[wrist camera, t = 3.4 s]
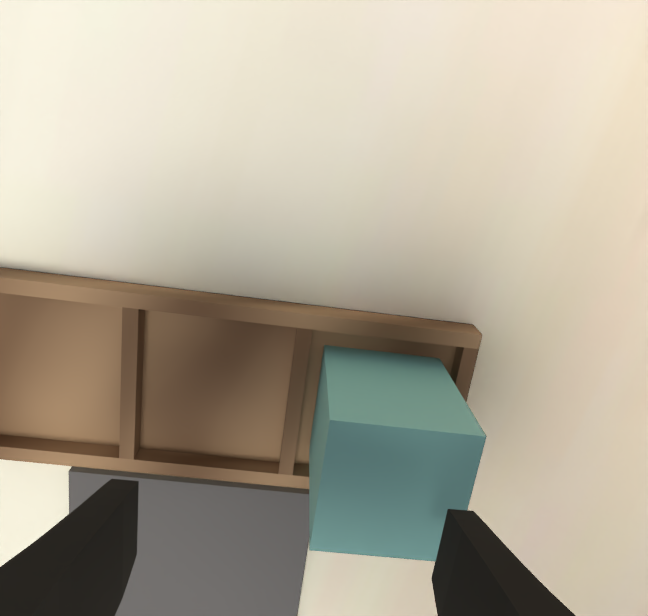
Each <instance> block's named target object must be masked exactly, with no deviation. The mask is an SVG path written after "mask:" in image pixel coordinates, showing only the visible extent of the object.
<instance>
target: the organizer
mask: <svg viewBox="0 0 648 616" xmlns="http://www.w3.org/2000/svg"><path fill="white" fill-rule="evenodd" d="M481 338H482V334H481V333H480V332H479V331H478V330H477V329H476V327H475V326H474V325H471V324H463V323H455V322H446V321H438V320H430V319H422V318H413V317H405V316H397V315H389V314H380V313H372V312H364V311H356V310H347V309H339V308H331V307H323V306H314V305H306V304H298V303H289V302H281V301H273V300H265V299H256V298H248V297H240V296H232V295H223V294H215V293H207V292H199V291H190V290H182V289H174V288H166V287H157V286H149V285H141V284H132V283H124V282H116V281H108V280H99V279H91V278H83V277H75V276H66V275H58V274H50V273H42V272H33V271H25V270H17V269H9V268H0V459H4V460H15V461H25V462H35V463H46V464H56V465H66V466H76V467H87V468H97V469H107V470H118V471H128V472H138V473H149V474H159V475H169V476H180V477H190V478H200V479H210V480H221V481H231V482H241V483H252V484H262V485H272V486H283V487H293V488H303V489H309V445H310V438H311V431H312V425H313V418H314V411H315V404H316V397H317V390H318V383H319V377H320V370H321V363H322V356H323V349H324V345H329V346H338V347H347V348H355V349H364V350H373V351H381V352H390V353H398V354H407V355H416V356H424V357H433V358H440V360H441V362H442V363H443V365H444V367H445V368H446V370H447V372H448V373H449V375H450V377H451V378H452V380H453V382H454V383H455V385H456V387H457V388H458V390H459V392H460V393H461V395H462V397H463V398H464V400H465V402H466V400H467V396H468V392H469V388H470V384H471V380H472V376H473V371H474V367H475V363H476V359H477V355H478V351H479V347H480V342H481Z"/></svg>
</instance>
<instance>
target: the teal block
mask: <svg viewBox="0 0 648 616" xmlns="http://www.w3.org/2000/svg"><path fill="white" fill-rule="evenodd" d="M485 440H486V435H485V433H484V432H483V430H482V428H481V427H480V425H479V423H478V422H477V420H476V418H475V417H474V415H473V413H472V412H471V410H470V408H469V407H468V405H467V403H466V402H465V400H464V398H463V397H462V395H461V393H460V392H459V390H458V388H457V387H456V385H455V383H454V382H453V380H452V378H451V377H450V375H449V373H448V372H447V370H446V368H445V367H444V365H443V363H442V362H441V360H440V358H433V357H424V356H416V355H407V354H398V353H390V352H381V351H373V350H364V349H355V348H347V347H338V346H329V345H324V349H323V356H322V363H321V370H320V377H319V383H318V390H317V397H316V404H315V411H314V418H313V425H312V431H311V438H310V445H309V546H310V550H314V551H325V552H337V553H348V554H359V555H370V556H381V557H393V558H404V559H415V560H426V561H436V558H437V553H438V549H439V545H440V540H441V536H442V532H443V528H444V523H445V519H446V515H447V510H448V509H456V510H467V509H468V505H469V501H470V497H471V493H472V490H473V486H474V482H475V478H476V474H477V470H478V466H479V463H480V459H481V455H482V451H483V447H484V443H485Z"/></svg>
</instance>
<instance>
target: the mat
mask: <svg viewBox="0 0 648 616" xmlns="http://www.w3.org/2000/svg"><path fill="white" fill-rule="evenodd" d="M111 479H121V480H132V481H139V491H138V532H137V556H136V559H135V562H134V565H133V568H132V571H131V574H130V577H129V580H128V583H127V586H126V589H125V592H124V595H123V598H122V601H121V603H120V605H119V607H118V610H117V612H116V614H115V616H297V613H298V606H299V600H300V593H301V587H302V580H303V574H304V568H305V561H306V555H307V548H308V542H309V489H301V488H290V487H280V486H270V485H260V484H249V483H239V482H229V481H218V480H208V479H198V478H187V477H177V476H167V475H157V474H146V473H136V472H126V471H115V470H105V469H95V468H84V467H74V466H72V467H71V469H70V470H69V514H70V513H71V512H72V511H73V510H75V509H76V508H77V507H78V506H79V505H81V504H82V503H83V502H84V501H85V500H86V499H88V498H89V497H90V496H91V495H92V494H93V493H95V492H96V491H97V490H98V489H99V488H101V487H102V486H103V485H104V484H105V483H107V482H108V481H109V480H111Z"/></svg>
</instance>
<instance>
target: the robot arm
mask: <svg viewBox="0 0 648 616" xmlns="http://www.w3.org/2000/svg"><path fill="white" fill-rule="evenodd" d="M138 491H139V481H132V480H121V479H111V480H109V481H108V482H107V483H105V484H104V485H103V486H102V487H101V488H99V489H98V490H97V491H96V492H95V493H93V494H92V495H91V496H90V497H89V498H88V499H86V500H85V501H84V502H83V503H82V504H81V505H79V506H78V507H77V508H76V509H75V510H73V511H72V512H71V513H70V514H69V515H67V516H66V517H65V518H64V519H63V520H61V521H60V522H59V523H58V524H56V525H55V526H54V527H53V528H51V529H50V530H49V531H48V532H46V533H45V534H44V535H43V536H41V537H40V538H39V539H38V540H36V541H35V542H34V543H32V544H31V545H30V546H28V547H27V548H26V549H24V550H23V551H22V552H20V553H19V554H17V555H16V556H15V557H13V558H12V559H11V560H9V561H8V562H7V563H5V564H4V565H2V566H1V567H0V616H115V614H116V612H117V610H118V607H119V605H120V603H121V601H122V598H123V595H124V592H125V589H126V586H127V583H128V580H129V577H130V574H131V571H132V568H133V565H134V562H135V559H136V556H137V532H138ZM432 583H433V589H434V595H435V602H436V607H437V613H438V616H575V615H574V614H573V613H572V612H571V611H570V610H569V609H568V608H567V607H566V606H565V605H564V604H563V603H561V602H560V601H559V600H558V599H557V598H556V597H555V596H554V595H553V594H552V593H551V592H550V591H549V590H548V589H547V588H546V587H545V586H544V585H543V584H542V583H541V582H540V581H539V580H538V579H537V578H536V577H535V576H534V575H533V574H532V573H531V572H530V571H529V570H528V569H527V568H526V567H525V566H524V565H523V564H522V563H521V562H520V561H519V559H518V558H517V557H516V556H515V555H514V554H513V553H512V552H511V551H510V550H509V549H508V548H507V547H506V546H505V544H504V543H503V542H502V541H501V540H500V539H499V538H498V537H497V536H496V535H495V534H494V533H493V531H492V530H491V529H490V528H489V527H488V526H487V525H486V524H485V523H484V522H483V521H482V520H481V519H480V518H479V516H478V515H477V514H476V513H475V512H474V511H467V510H456V509H448V510H447V515H446V519H445V523H444V528H443V532H442V536H441V540H440V545H439V549H438V553H437V558H436V562H435V566H434V571H433V575H432Z"/></svg>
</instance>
